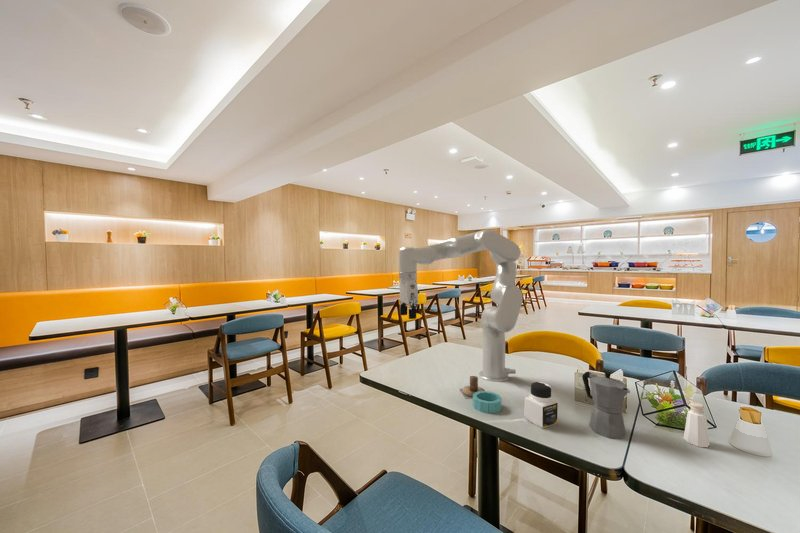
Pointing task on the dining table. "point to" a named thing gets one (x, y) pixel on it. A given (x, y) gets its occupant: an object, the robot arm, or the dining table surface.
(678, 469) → the dining table surface
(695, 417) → the salt shaker
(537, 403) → the medicine bottle
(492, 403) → the bowl
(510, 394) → the dining table surface
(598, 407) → the coffeepot
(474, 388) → the lid
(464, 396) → the mat
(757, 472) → the dining table surface
